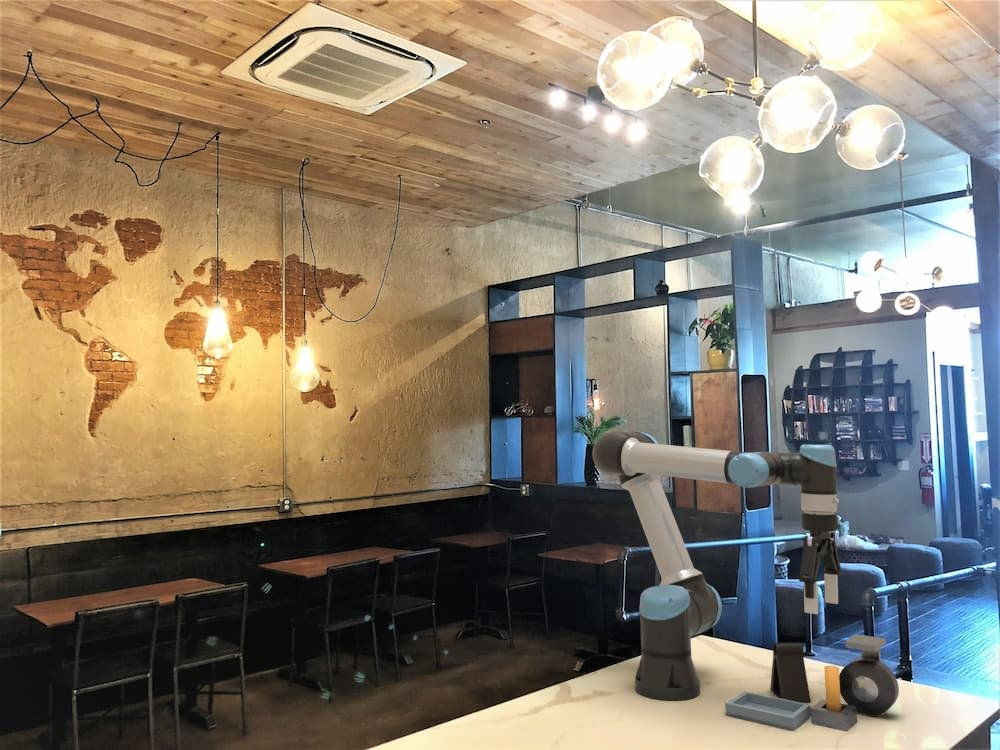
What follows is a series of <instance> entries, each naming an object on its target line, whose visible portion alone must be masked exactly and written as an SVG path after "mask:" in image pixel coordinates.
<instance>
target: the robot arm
mask: <svg viewBox="0 0 1000 750" xmlns="http://www.w3.org/2000/svg"><path fill="white" fill-rule="evenodd" d="M592 459H593V462H594V464H595V466H596V467H597V469H598V470H599V471H600V472H602V473H604V474H605V475H608V476H612V477H613V476H615V477H617V478H618V481H619V483H620V486H621V487H622V489H624V490H627V492H629V494H630V496H631V499H632V502H633V505H634V507H635V508H634V509H636V512H637V515H638V518H639V521H640V524H641V526H642V529H643V531H644V534H645V536H646V539H647V542H648V545H649V548H650V550H651V553H652V556H653V559H654V561H655V563H656V564H655V565H656V567H657V569H658V571H659V574H660V578H661V581H660V584H659V585H656V586H651V587H648V588H646V589H644V590H643V591H642V593H641V594H640V599H639V607H638V608H639V618H640V619H639V621H640V644H641V656H640V660H639V663H638V667H637V670H636V673H635V677H634V690H635V691H636V692H637V693H639V694H640V695H642V696H645V697H648V698H651V699H656V700H664V701H682V700H690V699H693V698H696V697H698V696H699V695H701V682H700V681H701V680H700V679H699V676H698V673H697V670H696V667H695V664H694V662H693V661H694V660H693V659H692V658H693V657H692V640H691V639H692V637H693V636H696V635H698V634H703V633H706V632H708V631H710V629H711V628H713V627H714V626H715V625H717V624H718V622H719V620H720V617H721V615H722V611H723V610H722V609H723V605H722V604H723V603H722V598H721V597H720V595H719V593H718V592H717V591H718V590H716V589H715V587H713V586H712V585H710V584H708V583H707V582H706V578H705V576H704V574H703V572H702V571H700V570H698V569H696V568H694V564H693V562H692V560H691V557H690V555H689V552H688V550H687V547H686V544H685V541H684V540H683V537H682V534H681V532H680V529H679V526H678V524H677V521H676V519H675V516H674V513H673V512H672V508H671V506H670V504H669V501H668V498H667V496H666V493H665V491H664V489H663V486H662V483H661V477H662V476H665V477H672V478H682V479H689V480H698V481H706V482H714V483H722V484H730V485H731V484H732V485H736V486H739V487H742V488H746V489H747V488H751V489H754V488H758V487H765V486H772V485H786V486H787V485H789V486H792V485H793V486H800V488H801V489H800V498H801V499H800V504H801V505H800V507H801V508H800V510H802V511H803V513H801V528H802V529H803V530H806V531H809V532H810V533H809V536H808V535H804V537H803V552H802V558H801V565H800V572H799V578H798V581H799V583H803V603H804V604H803V606H804V607H803V608H804V613H806V614H813V615H818V614H819V593H818V591H819V590H818V589H819V585H818V582H817V577H818V573H819V570H820V569H819V568H820V565H821V564H820V563H821V562H822V565H823V566H824V567H823V568H824V569H825V573H824V574H823V575H824V576H823V577H824V579H823V580H824V581H823V582H824V603H828V604H834V605H838V604H839V587H838V586H839V583H838V580H839V579H838V575H842V571H843V570H842V568H841V561H840V558H839V552H838V547H837V542H836V531H838V529H839V527H838V526H839V525H838V519H839V518H838V515H837V514H836V512H837V511H838V504H839V503H840V500H839V498H837V496H838V495H837V467H838V465H837V461H836V460H837V459H836V451H835V448H834V447H833V445H830V444H802V445H800V447H799V452H778V451H777V452H775V451H773V452H772V451H771V452H770V451H758V452H757V451H756V452H755V451H754V452H746V451H736V450H735V451H732V450H724V449H714V448H713V449H712V448H702V447H692V446H681V445H672V444H671V445H670V444H661V443H660V444H659V442H658V441H657V440H656V438H654V437H653V436H652V435H650V434H648V433H646V432H642V431H637V430H635V431H634V430H633V431H609V432H607V433H604V434H602V435H601V436H599V437H598V438H597V440H596V441H595V443H594V444H593V447H592Z"/></svg>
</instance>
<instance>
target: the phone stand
mask: <svg viewBox="0 0 1000 750" xmlns="http://www.w3.org/2000/svg"><path fill="white" fill-rule="evenodd" d="M804 659H805V658H804V647H803V644H802V643H801V642H799V641H798V642H797V641H796V642H793V641H791V642H788V641H787V642H773V643H772V663H771V664H772V665H771V675H770V676H771V679H770V692H771V693H772V694H773V695H775V697H776V698H781V699H786V700H791V701H795V702H800V703H805V704H810V703H811V701H812V700H811V694H810V689H809V682H808V676H807V672H806V665H805V660H804Z"/></svg>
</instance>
